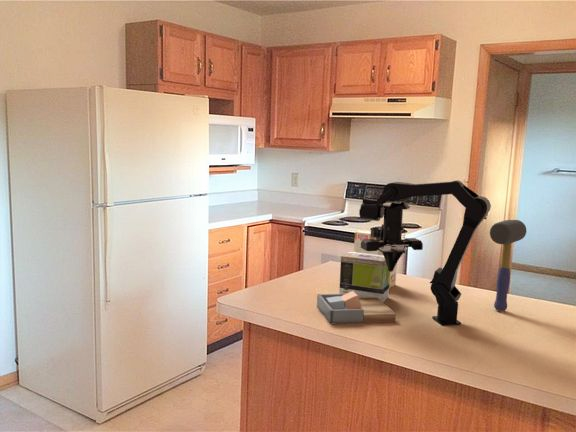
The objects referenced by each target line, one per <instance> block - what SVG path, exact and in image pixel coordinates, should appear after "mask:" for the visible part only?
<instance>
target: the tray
mask: <svg viewBox="0 0 576 432" xmlns="http://www.w3.org/2000/svg"><path fill="white" fill-rule="evenodd" d="M343 295H345V294H339V293H323V294H322V293H318V294H317V297H316V299H317V300H316V308H318V310H319V311H320V312H321V314H322V315H323V316H324V318H325V319H326V320H327V322H328V323H329V324H330V325H336V324H337V325H338V324H364V323H363V313H364V310H363V309H341V310H333V309H332V308H331V307H330V306H329V305H328V303H327V302H326V298H329V297H336V296H343Z"/></svg>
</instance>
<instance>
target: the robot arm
mask: <svg viewBox="0 0 576 432" xmlns="http://www.w3.org/2000/svg"><path fill="white" fill-rule="evenodd" d="M442 195H443V196H446V195H452V196H453V197H454V198H455V199H456V200H457V201H458V202H459V203H460V204H461V205H462V206H463V207H464V208H465V209H464V214H463V219H462V226H461V228H460V230H459V233H458V235H457V237H456V240H455V242H454V244H453V246H452V249H451V251H450V253H449V255H448V258H447V260H446V262H445V263H444V266H443V268H441V267H438V268H437V269H436V270H435V271H434V273H433V276H432V279H431V280H430V282H429V284H430V291H431V293H432V294H433V296H434V297H435V300H436V304H437V314H436V315H433V316H432V319H433V320H434V321H436V322H437V323H438V324H440V325H441V326H448V325H449V326H452V325H453V326H454V325H462V322H461V321H460V320H459V319H458V313H459V311H458V310H459V302H458V301H459V300H460V298H461V296H462V292H461V291H460V290H459V289H458V288H457V286H456V284H457V283H456V282H457V278H458V270H459V268H460V266H461V263H462V261H463V259H464V257H465V255H466V252H467V250H468V249H469V247H470V244H471V242H472V240H473V237H474V235H475V233H476V231H477V229H478V227H479V226H480V225H481V223H483V221H484V219H485V218H486V216H487V215H488V214H489V212H490V211H491V207H492V205H491V201H490V200H489V198H487V197H485V196H482V195H479V194H478V193H476V192H475V191H473V190H472V189H471V188H469V187H468V186H467V185H465V184H464V183H463V182H462V181H461V180H453V181H441V182H440V181H439V182H428V183H410V182H403V181H395V182H389V183H387V184H385V185H384V187H383V190H382V194H380V196H379V197H378V198H377V199H371V198H368V197H367V198H362V203H361V205H360V208H359V210H358V213H359V219H360V220H365V221H374V222H380V221H381V219H383V223H382V224H381V226H380V227H381V228H380V229H379V227H371V228H370V230H371V238H376V240H374V239H363V240H362V241H361V248H362V249H364V250H366V251H377V250H379V251H381V252H382V253H383V255H384V258H385V260H386V264H387V267H388V270H389V271H390V272H392V271H393V269H394V267H395V265H396V263H397V264H398V261H399V260H400V258H401V257H402V255H403V254H406V250H405V248H412V250H413V251H422V250H423V247H424V244H423V242H422V240H420V239H417V238H415V237H411V238H410V237H406V238H404V239H402V238H403V237H402V234H403V231H404V229H405V227H404V226H403V215H404V214H403V213H404V210H409V209H410V208H411V207H410V205H409V204H408V203H407V202H406V199H409V198H413V197H427V196H442ZM404 199H405V200H404ZM396 201H402V202H396ZM387 203H390V204H387ZM378 241H383V242H378ZM387 244H390V245H387ZM391 247H392V248H391Z"/></svg>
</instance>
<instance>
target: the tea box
mask: <svg viewBox="0 0 576 432" xmlns="http://www.w3.org/2000/svg"><path fill="white" fill-rule="evenodd" d="M339 268H340V270H339V272H340V273H339V289H338V290H339V293H338V294H347V293H349V292H351V291H354V292H355V293H356V294H357V295H358V298H378V299H380V300H381V301H382V302H383V303H384V302H386V300H387V299H388V298H389V295H390V294H389V292H390V288H389V282H390V271H389V270H388V267H387V264H386V260H385V258H384V255H377V254H368V253H359V252H354V251H348V252H346V253H344V254H343V255H341V256H340V267H339Z"/></svg>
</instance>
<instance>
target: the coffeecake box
mask: <svg viewBox="0 0 576 432" xmlns="http://www.w3.org/2000/svg"><path fill="white" fill-rule="evenodd" d="M363 239H374V240H376V238H371V229H370V230H369V229H359V230H356V231H354V242H353V243H354V247H353V252H359V253H368V254H377V255H383V253H382V252H381V251H379V250H377V251H366V250H364V249H362V248H361V241H362V240H363ZM378 242H383V241H378ZM387 245H390V244H387ZM391 248H392V247H391ZM397 266H398V262H397V263H396V265H395V267H394V269H393V271H392V272H390V282H389V289H391V288H393V287H395V286H396V283H397V271H398V270H397V268H398V267H397Z"/></svg>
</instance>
